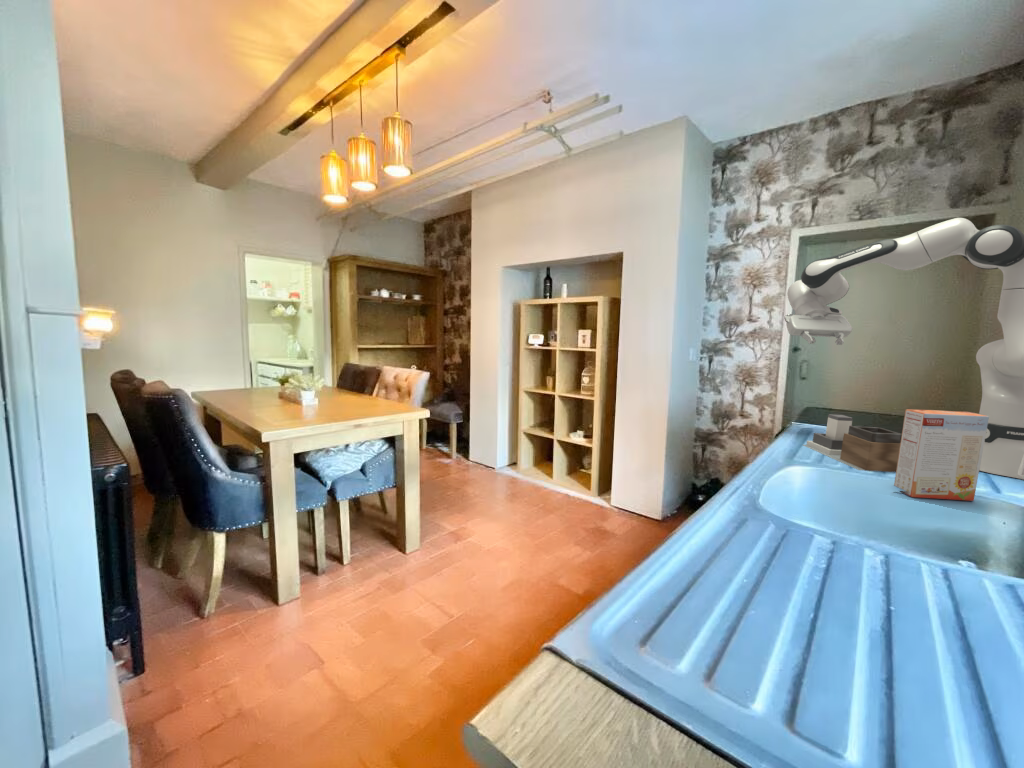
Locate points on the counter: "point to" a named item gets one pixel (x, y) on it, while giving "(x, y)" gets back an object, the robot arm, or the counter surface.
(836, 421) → the plug
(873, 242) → the robot arm
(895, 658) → the counter surface
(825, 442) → the lower jack
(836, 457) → the console board
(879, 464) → the upper stand
